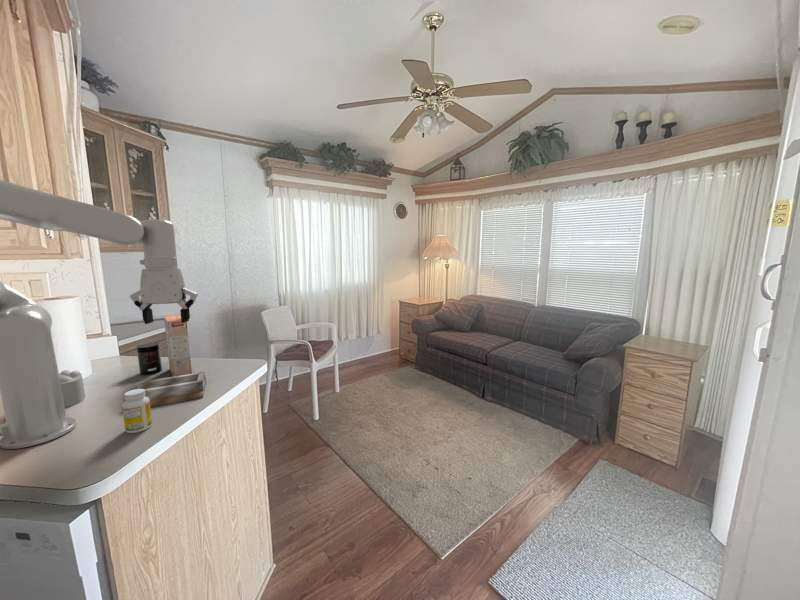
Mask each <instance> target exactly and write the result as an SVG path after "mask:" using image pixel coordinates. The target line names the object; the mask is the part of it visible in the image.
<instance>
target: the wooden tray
mask: <svg viewBox="0 0 800 600" xmlns="http://www.w3.org/2000/svg"><path fill="white" fill-rule="evenodd" d="M206 385H207V377H206V372H205V371H200V372H196V373H193V372H192V374H187V375H180V376H174V377H173V376H169V377H162V378H155V379H149V380H142V381H137V382H136V385H135V386H136V389H144V390H145V397H148V398H149V400H150V408H151V407H152V408H153V407H155V406H157V407H158V406H161V405H162V406H163V405H169V404H173V403H178V402H183V401H189V400H194V399H201V398H204V396H205V391H206Z"/></svg>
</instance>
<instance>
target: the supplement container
mask: <svg viewBox="0 0 800 600" xmlns="http://www.w3.org/2000/svg"><path fill="white" fill-rule="evenodd" d="M135 348H136V353H137V354H136V356H137V361H138V369H139V373H140V375H144V376H148V375H154V374H157V373H160V372H162V369H163V365H162V357H161V349H160V348H161V347H160V342H149V343H148V342H147V343H142V344H139V345H136V347H135Z"/></svg>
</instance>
